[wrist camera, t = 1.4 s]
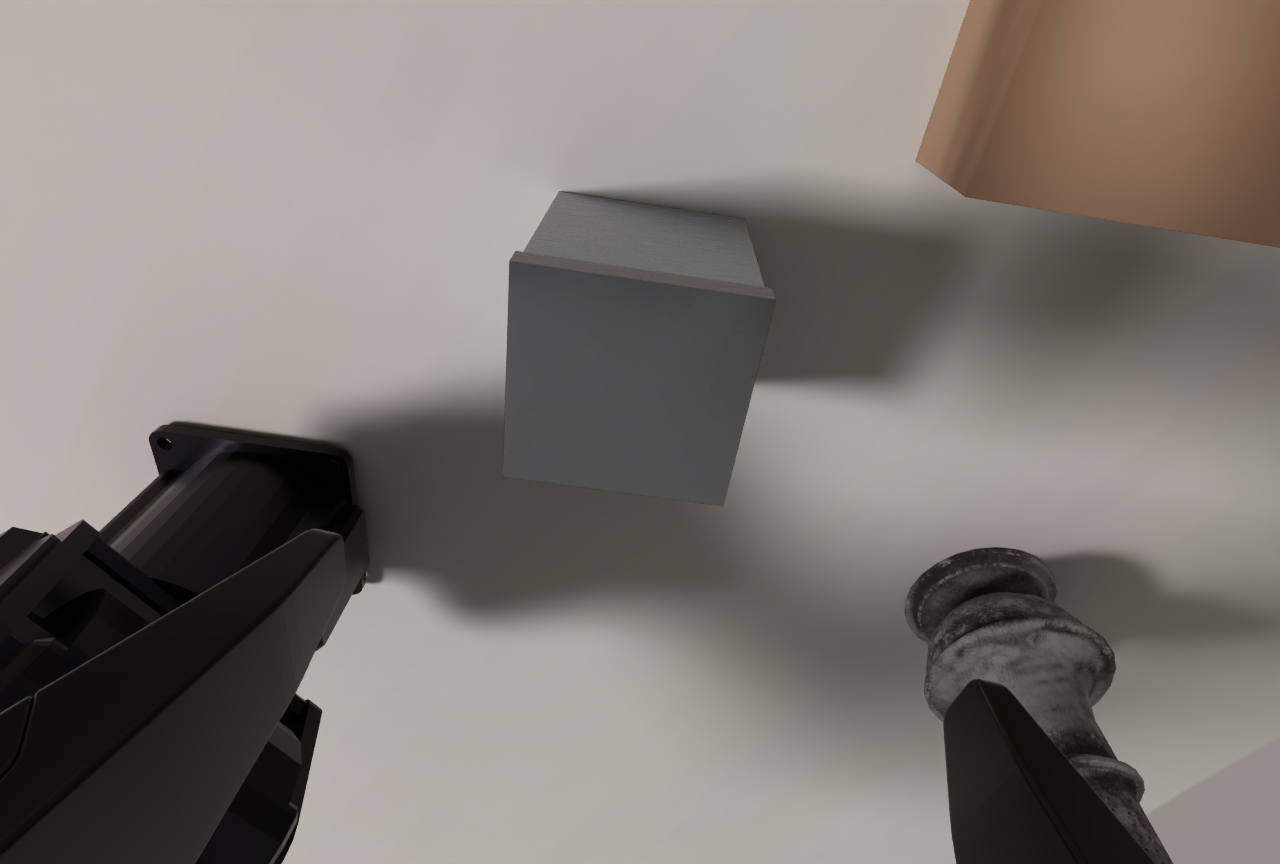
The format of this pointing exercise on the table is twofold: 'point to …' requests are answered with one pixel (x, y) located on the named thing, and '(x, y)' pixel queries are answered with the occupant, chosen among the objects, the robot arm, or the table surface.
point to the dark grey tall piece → (1026, 663)
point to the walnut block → (1117, 112)
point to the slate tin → (632, 348)
